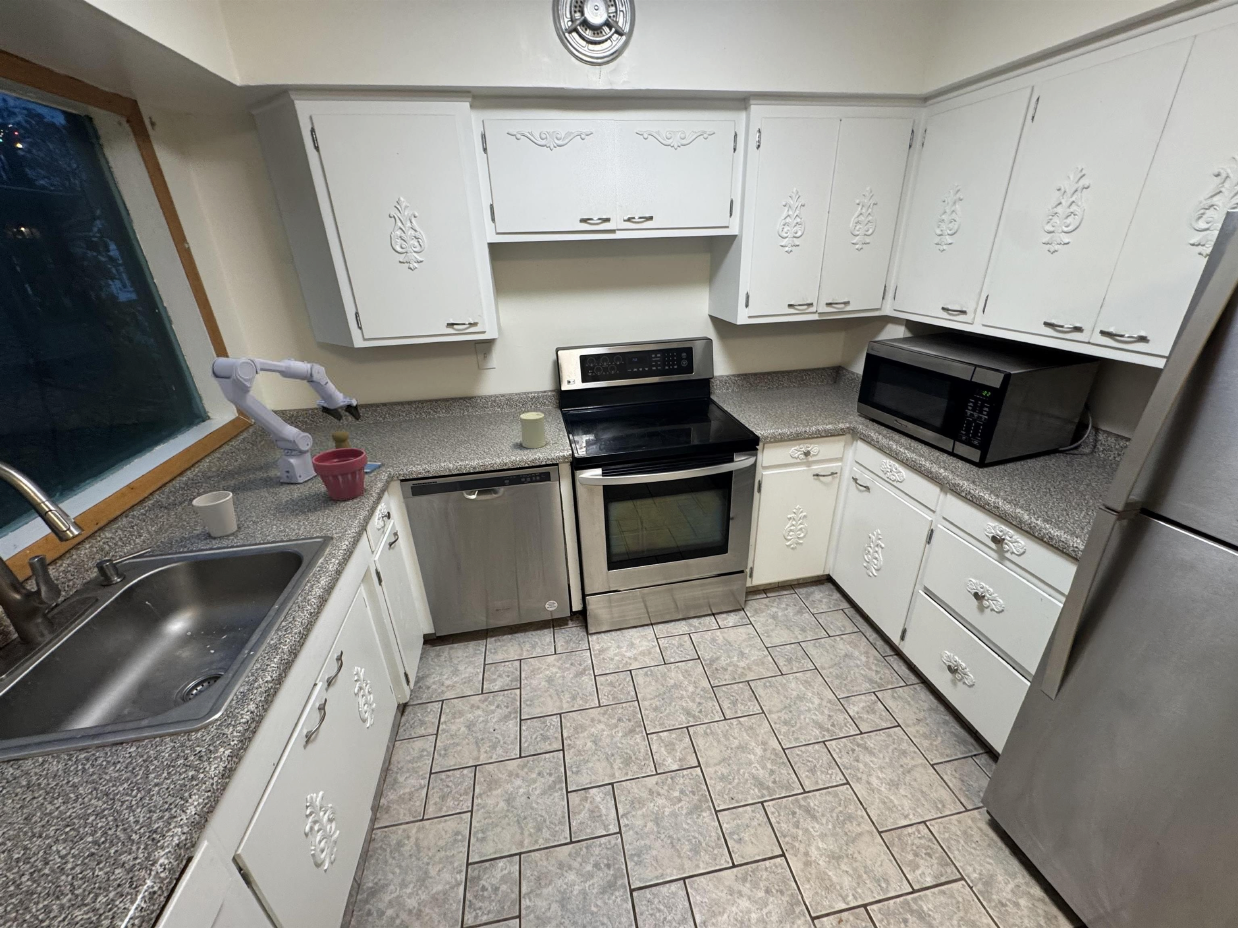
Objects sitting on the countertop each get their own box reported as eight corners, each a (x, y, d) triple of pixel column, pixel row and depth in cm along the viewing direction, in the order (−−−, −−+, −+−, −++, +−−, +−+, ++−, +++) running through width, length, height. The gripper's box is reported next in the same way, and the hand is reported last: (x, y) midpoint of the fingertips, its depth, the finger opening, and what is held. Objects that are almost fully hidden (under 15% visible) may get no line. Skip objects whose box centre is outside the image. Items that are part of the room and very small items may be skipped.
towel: (369, 473, 170) (368, 471, 170) (345, 471, 171) (344, 470, 171) (382, 464, 177) (382, 462, 177) (359, 463, 179) (359, 461, 178)
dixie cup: (237, 520, 140) (226, 488, 136) (247, 530, 135) (236, 496, 131) (200, 532, 134) (188, 498, 130) (209, 542, 129) (196, 508, 125)
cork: (347, 464, 178) (340, 434, 173) (332, 463, 179) (325, 433, 175) (359, 458, 183) (352, 429, 179) (344, 456, 184) (337, 428, 180)
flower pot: (376, 482, 163) (369, 445, 158) (368, 500, 150) (360, 461, 146) (328, 487, 160) (318, 449, 155) (315, 506, 147) (305, 466, 142)
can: (548, 446, 193) (546, 416, 188) (524, 449, 190) (522, 419, 185) (543, 438, 201) (541, 409, 196) (520, 441, 198) (517, 412, 193)
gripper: (350, 383, 175) (371, 410, 185) (314, 384, 178) (337, 411, 188) (341, 397, 170) (363, 424, 181) (305, 399, 173) (328, 425, 184)
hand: (350, 418), depth 184 cm, fingers open, 7 cm apart
